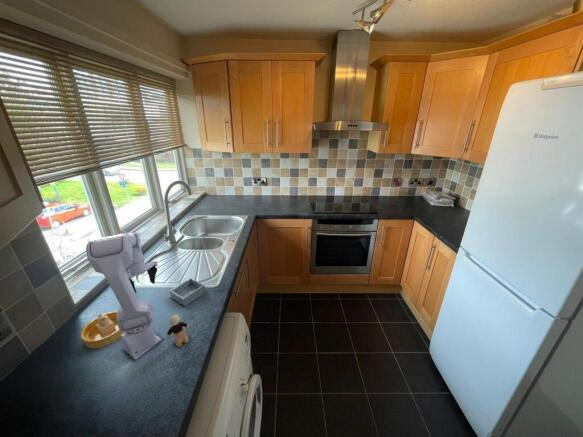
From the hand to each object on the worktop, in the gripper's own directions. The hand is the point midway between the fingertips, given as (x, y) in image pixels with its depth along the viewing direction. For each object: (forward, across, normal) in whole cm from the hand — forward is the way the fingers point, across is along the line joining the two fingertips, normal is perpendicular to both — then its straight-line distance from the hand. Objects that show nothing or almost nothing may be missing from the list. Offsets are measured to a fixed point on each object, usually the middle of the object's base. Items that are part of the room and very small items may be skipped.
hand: (144, 287), depth 101 cm
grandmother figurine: (+10, +4, +30) cm, 31 cm away
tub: (+9, -13, +9) cm, 19 cm away
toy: (+9, +17, +2) cm, 19 cm away
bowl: (+9, +17, +2) cm, 19 cm away
